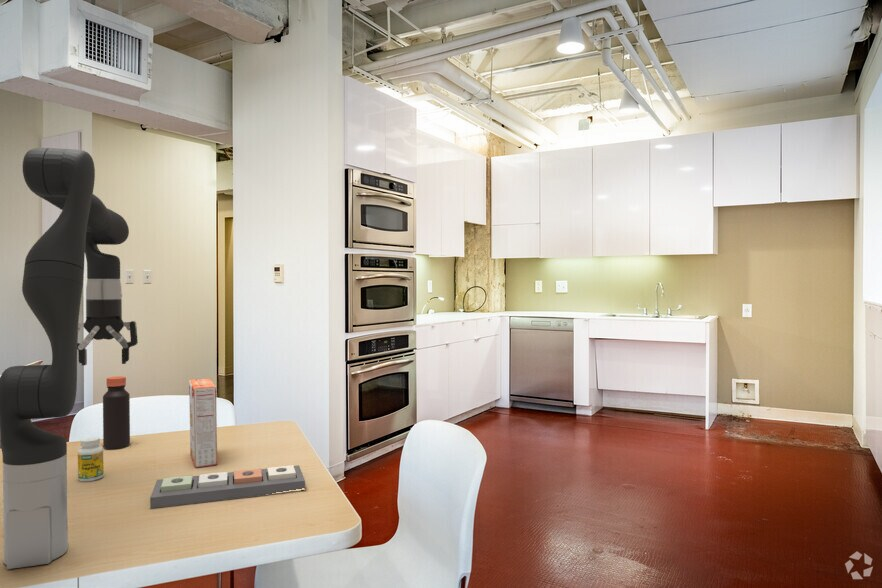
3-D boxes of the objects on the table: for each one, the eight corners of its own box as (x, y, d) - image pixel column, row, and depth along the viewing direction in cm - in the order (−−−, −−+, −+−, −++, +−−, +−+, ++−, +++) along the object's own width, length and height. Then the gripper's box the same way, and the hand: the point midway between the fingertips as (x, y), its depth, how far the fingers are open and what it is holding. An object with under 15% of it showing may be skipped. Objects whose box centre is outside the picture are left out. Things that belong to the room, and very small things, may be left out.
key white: (227, 487, 132) (227, 479, 132) (198, 491, 130) (198, 482, 130) (227, 479, 138) (227, 470, 138) (199, 482, 136) (199, 473, 136)
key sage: (191, 491, 130) (190, 482, 130) (161, 495, 128) (160, 486, 128) (192, 483, 135) (192, 474, 135) (163, 486, 133) (163, 477, 133)
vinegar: (112, 443, 175) (111, 375, 174) (134, 443, 174) (134, 375, 174) (98, 449, 168) (97, 379, 167) (121, 450, 168) (120, 379, 167)
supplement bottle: (102, 473, 147) (102, 435, 147) (104, 479, 143) (104, 439, 142) (77, 477, 144) (77, 438, 144) (78, 483, 140) (77, 443, 140)
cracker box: (188, 454, 163) (188, 379, 163) (211, 451, 166) (211, 377, 166) (192, 468, 151) (192, 387, 150) (217, 465, 154) (217, 385, 153)
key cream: (295, 480, 137) (295, 471, 137) (268, 483, 135) (268, 474, 135) (293, 472, 143) (293, 464, 143) (267, 475, 141) (267, 467, 141)
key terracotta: (262, 484, 135) (262, 475, 135) (234, 487, 133) (234, 478, 133) (260, 476, 141) (260, 467, 140) (234, 478, 138) (234, 470, 138)
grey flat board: (305, 490, 135) (304, 480, 135) (150, 508, 124) (150, 497, 124) (299, 474, 147) (299, 464, 146) (156, 489, 136) (156, 479, 136)
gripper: (66, 298, 137) (66, 367, 138) (134, 297, 142) (135, 365, 143) (73, 297, 144) (74, 363, 145) (138, 297, 149) (139, 361, 150)
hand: (104, 364), depth 144 cm, fingers open, 8 cm apart
